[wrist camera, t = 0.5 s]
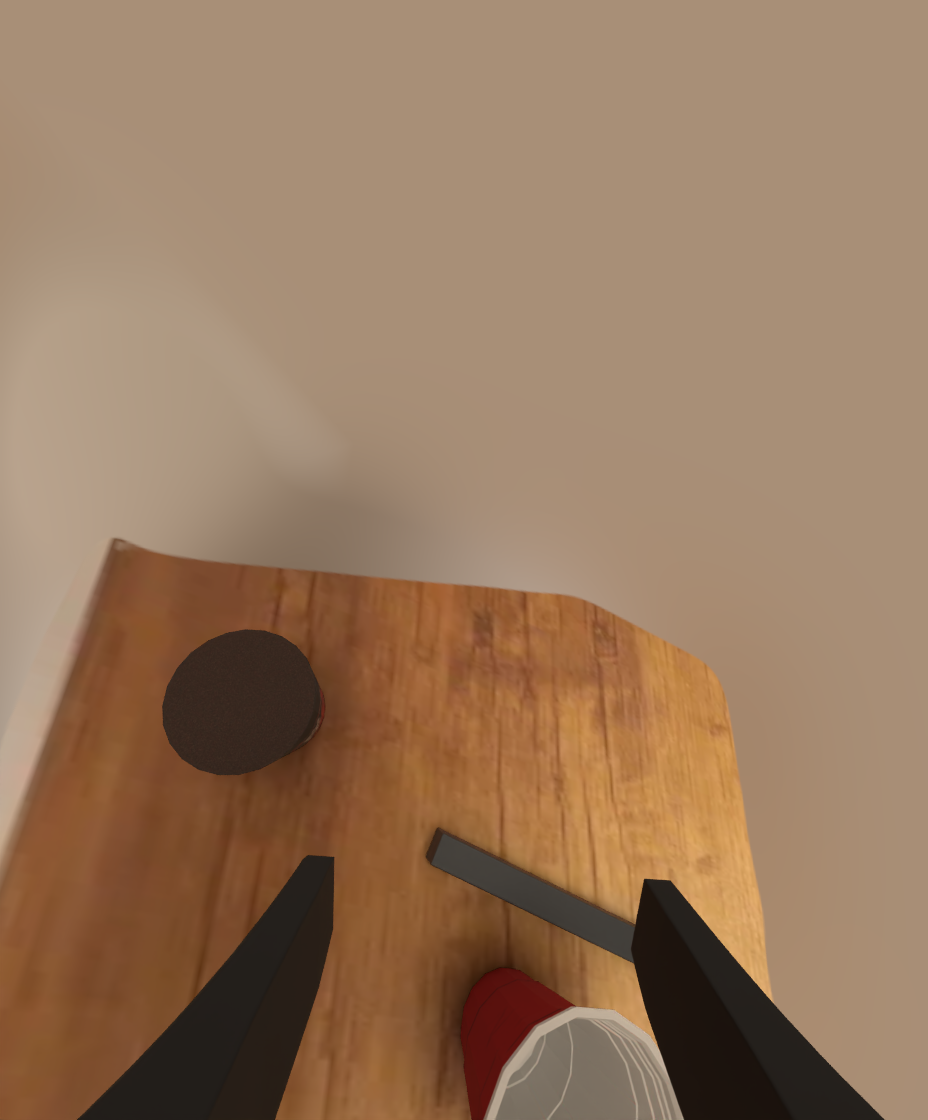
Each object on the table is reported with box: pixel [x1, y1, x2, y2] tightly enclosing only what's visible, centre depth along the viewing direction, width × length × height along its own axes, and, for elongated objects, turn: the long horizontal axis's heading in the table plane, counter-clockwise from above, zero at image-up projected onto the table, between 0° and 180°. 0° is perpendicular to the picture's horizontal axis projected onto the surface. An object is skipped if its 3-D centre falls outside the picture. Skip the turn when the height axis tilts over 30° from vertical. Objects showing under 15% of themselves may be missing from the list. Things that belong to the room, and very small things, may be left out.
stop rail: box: [426, 828, 635, 963], centre depth 32 cm, size 2×18×2 cm, turn 65°
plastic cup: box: [460, 967, 684, 1120], centre depth 24 cm, size 11×11×12 cm
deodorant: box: [162, 630, 325, 775], centre depth 26 cm, size 6×6×15 cm
